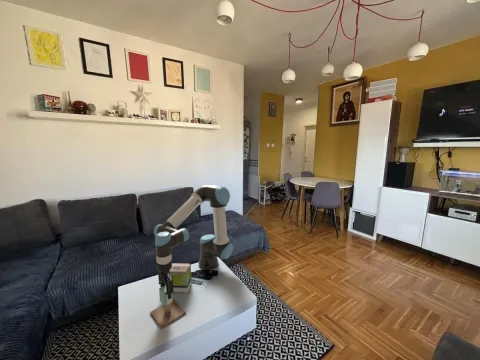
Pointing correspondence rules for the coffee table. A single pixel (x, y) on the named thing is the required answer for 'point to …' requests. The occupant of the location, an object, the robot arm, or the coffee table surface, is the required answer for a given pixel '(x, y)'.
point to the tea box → (181, 276)
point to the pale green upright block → (163, 295)
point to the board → (165, 318)
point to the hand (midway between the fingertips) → (166, 300)
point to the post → (167, 308)
